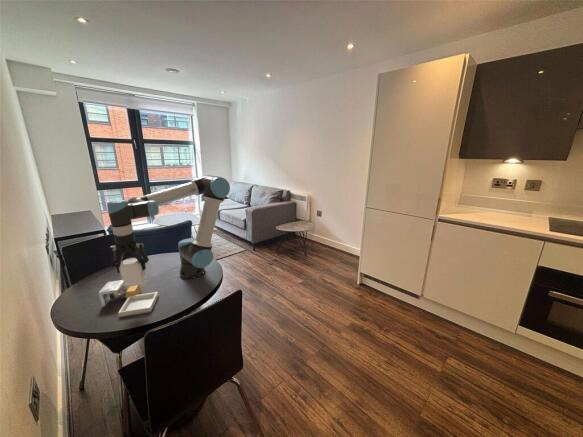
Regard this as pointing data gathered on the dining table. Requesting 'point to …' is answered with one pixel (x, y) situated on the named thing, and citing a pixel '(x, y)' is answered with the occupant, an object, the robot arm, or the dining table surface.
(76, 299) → the dining table surface
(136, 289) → the block
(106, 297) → the white hollow block
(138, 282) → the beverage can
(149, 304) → the tray
